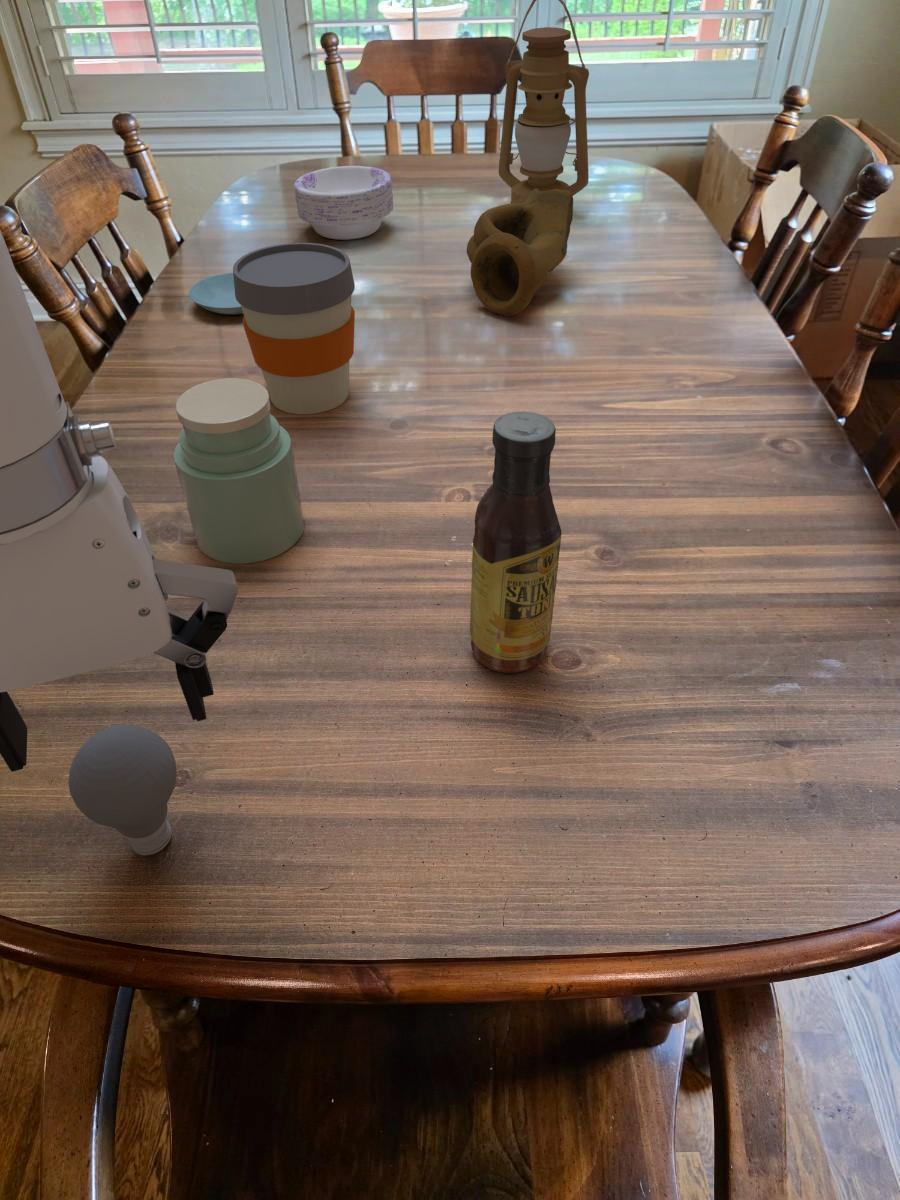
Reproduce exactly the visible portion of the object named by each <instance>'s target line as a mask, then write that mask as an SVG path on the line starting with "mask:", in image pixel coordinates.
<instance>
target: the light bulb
mask: <svg viewBox="0 0 900 1200" xmlns="http://www.w3.org/2000/svg"><path fill="white" fill-rule="evenodd" d="M177 776H178V775H177V761H176V759H175V756H174V753H173V749H171V747H170V746H169V744H168V742H166V741H165V739H163V738H162V737H161V736H160V735H159V734H158V733H156V732H154V731H152V730H150V729H148V728H146V727H143V726H139V725H133V724H120V725H119V724H118V725H114V726H109V727H107V728H104V729H102V730H100V731H98V732H96V733H95V734H93V735H92V736H90V737H89V738H87V740H86V741H84V743H83V744H82V745H81V746H80V747H79V749H78V750H77V752H76V754H75V756H74V758H73V759H72V762H71V764H70V768H69V772H68V790H69V794H70V797H71V799H72V800H73V802H74V804H75V807H76V808H78V810H79V811H80V812H81V813H82V814H83V815H84V816H85V817H86V818H87V819H89V820H91V821H92V822H93V823H96V824H98V825H100V826H103V827H104V826H105V827H109V828H112V829H115V830H117V832H118V833H119V834H120V835H123V836H124V837H126V839H127V841H128V843H129V845H130V847H131V849H132V850H133V852H134V853H136V854H138V855H141V856H151V855H155V854H157V853H159V852H160V851H162V850H163V849H164V848H165V847H167V845H168V844H169V842H170V840H171V839H172V838H171V837H172V828H171V825H170V823H169V821H168V818H167V815H168V803H169V802H170V799H171V797H172V794H173V793H174V790H175V788H176V783H177Z"/></svg>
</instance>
